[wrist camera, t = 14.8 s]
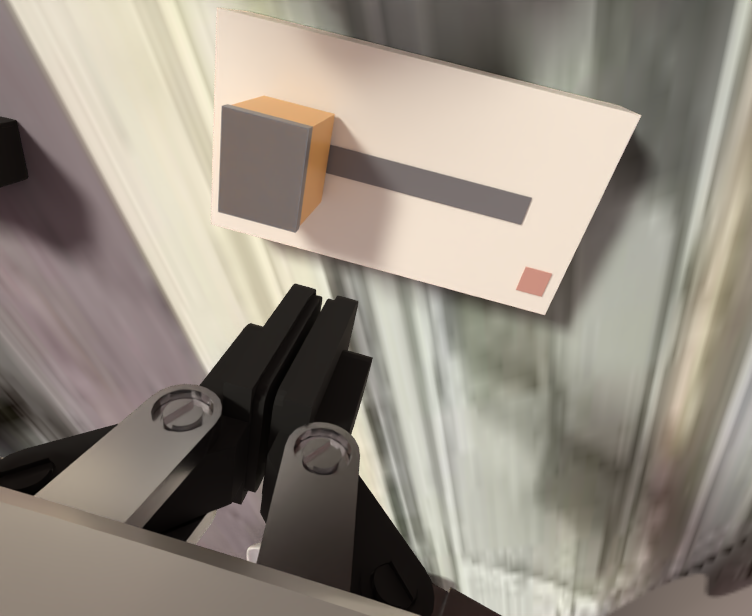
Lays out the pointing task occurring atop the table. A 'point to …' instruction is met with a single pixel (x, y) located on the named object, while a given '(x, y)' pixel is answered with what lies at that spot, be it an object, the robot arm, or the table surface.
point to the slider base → (428, 159)
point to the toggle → (273, 161)
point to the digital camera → (11, 153)
